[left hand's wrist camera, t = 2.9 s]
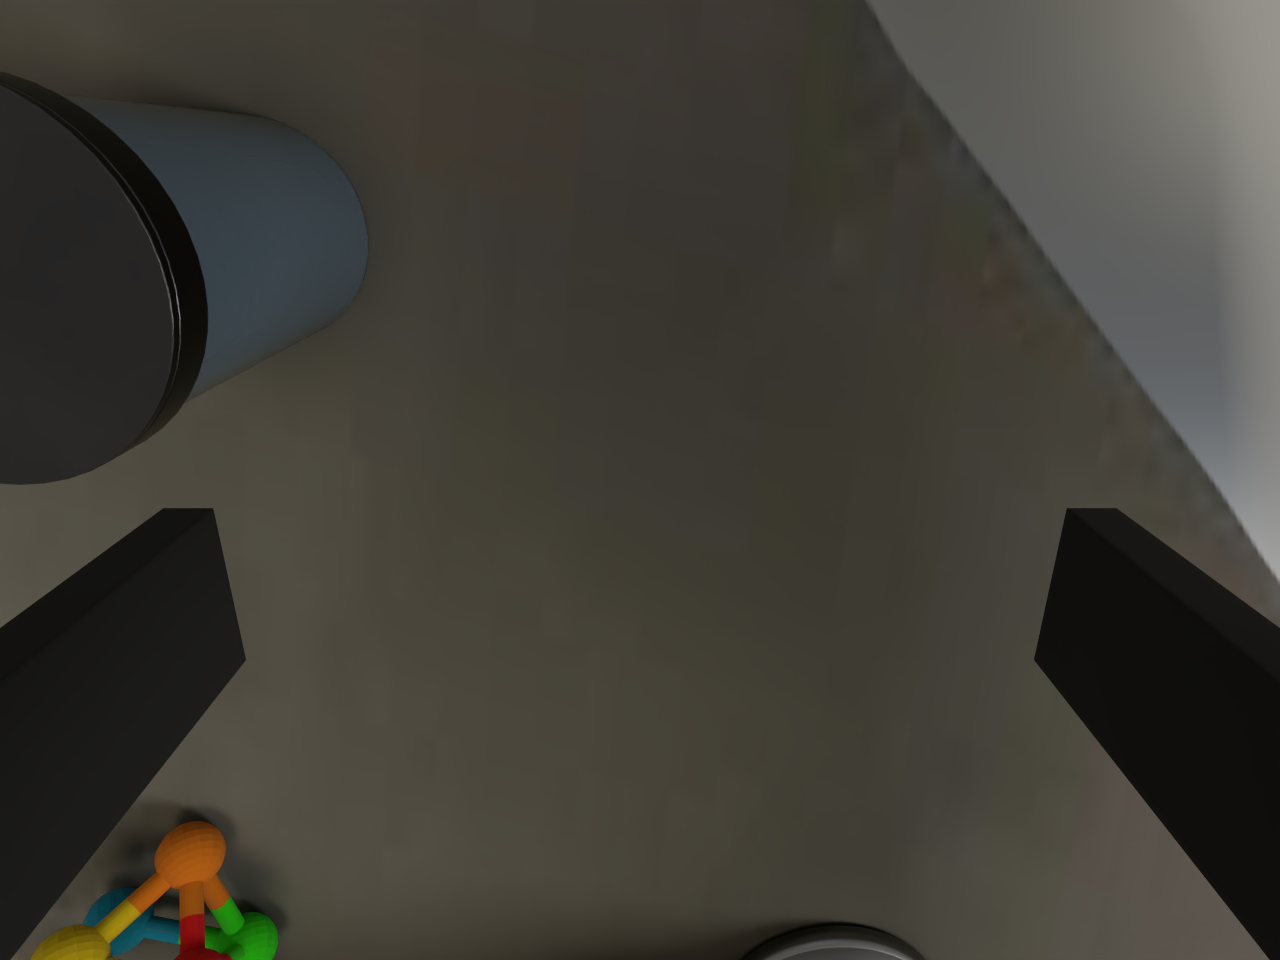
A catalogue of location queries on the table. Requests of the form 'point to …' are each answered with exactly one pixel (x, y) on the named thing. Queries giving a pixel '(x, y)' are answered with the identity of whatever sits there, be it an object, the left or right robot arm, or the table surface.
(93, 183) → the lid
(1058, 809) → the table surface
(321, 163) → the screw-top jar
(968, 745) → the table surface
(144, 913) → the molecular model
